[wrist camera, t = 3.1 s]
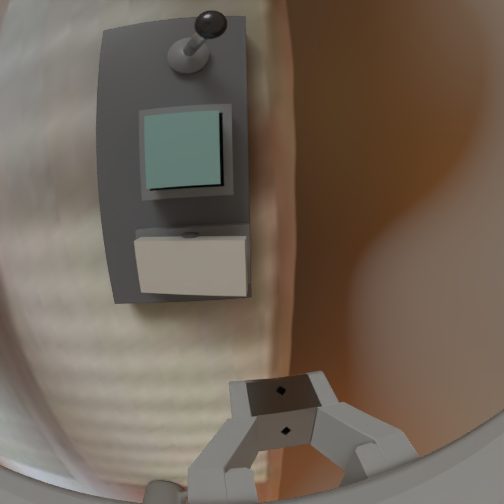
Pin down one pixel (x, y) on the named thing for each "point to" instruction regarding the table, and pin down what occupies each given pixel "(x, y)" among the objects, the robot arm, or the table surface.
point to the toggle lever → (205, 30)
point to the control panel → (133, 142)
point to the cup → (164, 493)
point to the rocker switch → (193, 265)
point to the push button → (182, 149)
